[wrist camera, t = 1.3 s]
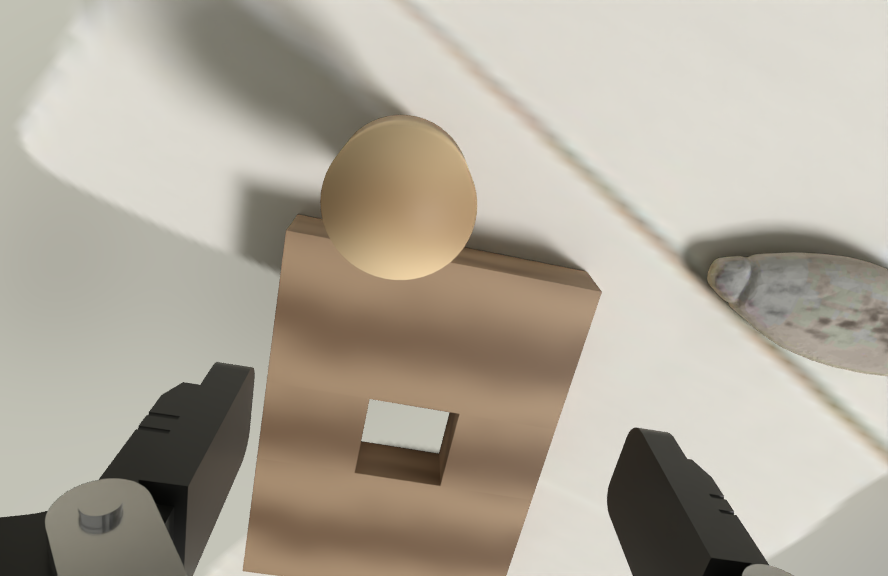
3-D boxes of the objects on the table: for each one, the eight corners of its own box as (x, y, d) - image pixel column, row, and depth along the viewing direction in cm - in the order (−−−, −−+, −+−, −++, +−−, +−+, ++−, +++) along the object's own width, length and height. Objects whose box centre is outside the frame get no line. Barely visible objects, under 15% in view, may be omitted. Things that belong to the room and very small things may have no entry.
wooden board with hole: (297, 214, 32) (286, 230, 29) (586, 271, 34) (601, 291, 31) (255, 534, 40) (242, 571, 37) (491, 567, 41) (496, 604, 39)
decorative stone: (722, 215, 33) (754, 232, 30) (962, 286, 35) (1016, 310, 32) (675, 313, 35) (700, 340, 32) (904, 375, 37) (949, 406, 34)
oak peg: (360, 90, 30) (332, 111, 20) (471, 115, 30) (493, 146, 21) (342, 200, 32) (310, 264, 22) (447, 221, 32) (457, 292, 23)
